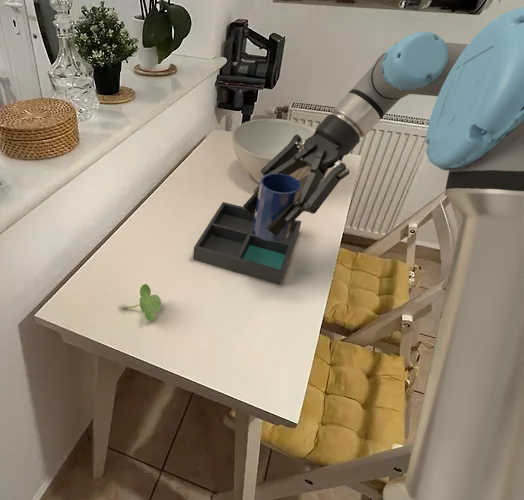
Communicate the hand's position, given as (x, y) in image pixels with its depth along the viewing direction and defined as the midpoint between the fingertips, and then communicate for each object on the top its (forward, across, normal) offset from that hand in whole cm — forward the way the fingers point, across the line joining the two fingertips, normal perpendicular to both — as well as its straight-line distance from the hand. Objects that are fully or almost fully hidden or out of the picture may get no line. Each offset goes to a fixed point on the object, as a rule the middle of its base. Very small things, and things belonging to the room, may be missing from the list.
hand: (258, 220), depth 83 cm
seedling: (+28, +2, +6) cm, 29 cm away
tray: (+7, +10, -16) cm, 20 cm away
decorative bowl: (-11, +34, -34) cm, 49 cm away
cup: (0, 0, -5) cm, 5 cm away
